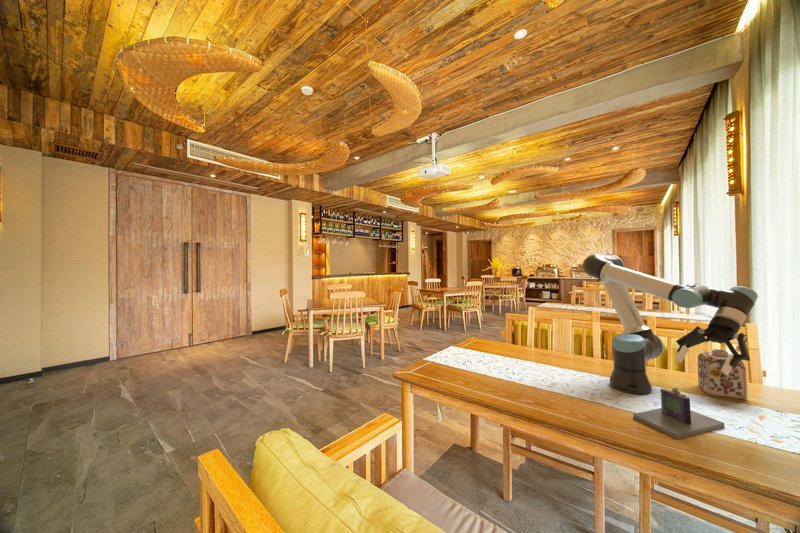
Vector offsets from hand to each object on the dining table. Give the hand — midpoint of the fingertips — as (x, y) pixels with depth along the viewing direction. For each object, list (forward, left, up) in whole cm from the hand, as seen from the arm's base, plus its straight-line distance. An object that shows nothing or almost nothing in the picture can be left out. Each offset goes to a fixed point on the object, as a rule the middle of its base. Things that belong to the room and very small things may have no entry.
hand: (699, 366), depth 106 cm
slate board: (0, -12, -19) cm, 22 cm away
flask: (0, -12, -17) cm, 21 cm away
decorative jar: (-11, +32, -19) cm, 39 cm away
